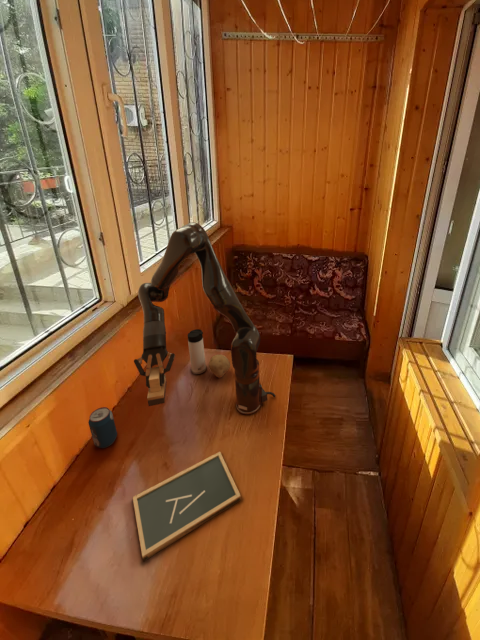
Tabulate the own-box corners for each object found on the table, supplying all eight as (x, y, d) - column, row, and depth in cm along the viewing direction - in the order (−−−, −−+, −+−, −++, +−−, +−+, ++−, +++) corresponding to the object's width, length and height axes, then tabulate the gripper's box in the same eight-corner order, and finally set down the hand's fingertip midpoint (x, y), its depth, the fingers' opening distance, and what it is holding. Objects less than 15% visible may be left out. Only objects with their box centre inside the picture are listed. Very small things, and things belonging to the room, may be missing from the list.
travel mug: (202, 375, 136) (198, 337, 130) (189, 373, 138) (184, 335, 131) (209, 366, 142) (205, 328, 135) (195, 364, 143) (191, 327, 137)
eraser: (152, 385, 112) (148, 364, 109) (166, 382, 113) (163, 362, 110) (148, 406, 103) (144, 384, 100) (164, 403, 104) (161, 381, 101)
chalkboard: (220, 455, 102) (220, 451, 101) (240, 500, 89) (240, 495, 88) (133, 501, 88) (132, 497, 88) (143, 561, 76) (142, 556, 75)
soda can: (120, 430, 110) (114, 404, 106) (113, 448, 104) (107, 421, 100) (99, 433, 109) (92, 407, 105) (91, 451, 102) (83, 424, 98)
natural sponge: (224, 365, 143) (222, 346, 140) (234, 375, 137) (233, 356, 134) (206, 374, 137) (204, 355, 134) (216, 385, 131) (215, 365, 128)
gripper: (130, 336, 106) (130, 390, 99) (174, 330, 110) (176, 382, 103) (135, 340, 113) (135, 391, 106) (176, 335, 117) (178, 383, 110)
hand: (155, 386), depth 105 cm, fingers closed on eraser, 3 cm apart
